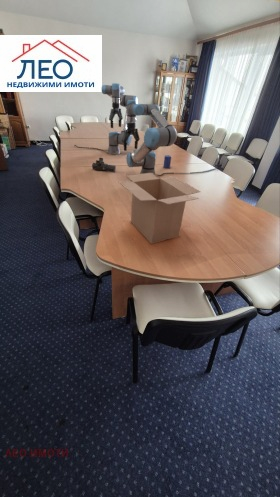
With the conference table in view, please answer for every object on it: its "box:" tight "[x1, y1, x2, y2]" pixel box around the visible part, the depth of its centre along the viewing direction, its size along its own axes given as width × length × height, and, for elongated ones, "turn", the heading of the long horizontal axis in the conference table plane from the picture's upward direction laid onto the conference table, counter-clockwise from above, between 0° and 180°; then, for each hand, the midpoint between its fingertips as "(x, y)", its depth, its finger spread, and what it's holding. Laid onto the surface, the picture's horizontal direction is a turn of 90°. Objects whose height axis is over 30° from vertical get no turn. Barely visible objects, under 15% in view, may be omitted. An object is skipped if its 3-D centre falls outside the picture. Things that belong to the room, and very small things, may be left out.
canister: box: [162, 154, 172, 170], centre depth 231 cm, size 7×7×12 cm
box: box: [117, 173, 201, 245], centre depth 124 cm, size 44×36×27 cm
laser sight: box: [91, 157, 117, 173], centre depth 211 cm, size 10×22×10 cm, turn 78°
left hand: (116, 127), depth 229 cm, fingers open, 13 cm apart
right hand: (130, 149), depth 196 cm, fingers open, 13 cm apart
